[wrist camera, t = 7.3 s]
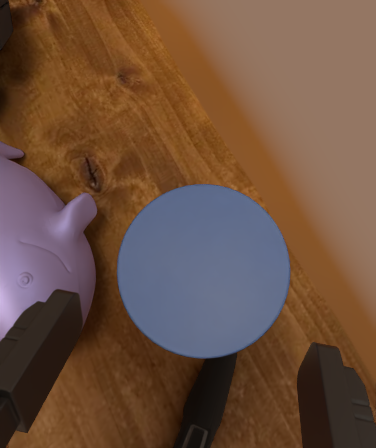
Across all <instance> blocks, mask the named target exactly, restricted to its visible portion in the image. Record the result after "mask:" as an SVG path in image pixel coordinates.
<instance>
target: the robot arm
mask: <svg viewBox="0 0 376 448" xmlns="http://www.w3.org/2000/svg"><path fill="white" fill-rule="evenodd" d="M82 327H83V317H82V310H81V302H80V296H79V294H78V293H76V292H71V291H66V290H61V289H56V290H54V291H53V292H52V294H51V295H50V296H49V298H48V299H47V301H46V302H41V301H37V302H36V303H34V304H33V305H31V306H30V307H29V308H27V309H26V310H24V311H23V312H22V314H21V315H20V316H19V318H18V319H17V320H16V322H15V323H14V324H13V327H11V328H10V329H9V331H8V332H7V333H6V335H5V337H4V338H2V340H1V341H0V448H9V446H8V443H9V441H10V439H11V437H12V436H13V434H14V432H15V430H17V431H21V432H25V433H28V431H29V429H30V427H31V425H32V424H33V422H34V420H35V418H36V416H37V414H38V413H39V411H40V409H41V407H42V405H43V403H44V401H45V400H46V398H47V396H48V394H49V392H50V390H51V389H52V387H53V385H54V383H55V381H56V379H57V377H58V376H59V374H60V372H61V370H62V368H63V366H64V365H65V363H66V361H67V359H68V357H69V355H70V353H71V352H72V350H73V348H74V346H75V344H76V342H77V341H78V339H79V337H80V334H81V331H82ZM297 391H298V401H299V412H300V422H301V433H302V443H303V448H376V425H375V422H373V419H374V418H373V414H372V411H371V407H369V404H370V403H369V400H368V396H367V392H366V389H365V385H364V384H363V382H362V381H361V379H360V377H359V376H358V374H357V373H356V371H355V370H354V368H350V367H345V366H343V363H342V358H341V354H340V351H339V349H338V348H337V347H335V346H330V345H325V344H320V343H315V342H313V343H312V344H311V345H310V347H309V349H308V351H307V353H306V356H305V358H304V360H303V362H302V364H301V366H300V368H299V371H298V377H297Z"/></svg>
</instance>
